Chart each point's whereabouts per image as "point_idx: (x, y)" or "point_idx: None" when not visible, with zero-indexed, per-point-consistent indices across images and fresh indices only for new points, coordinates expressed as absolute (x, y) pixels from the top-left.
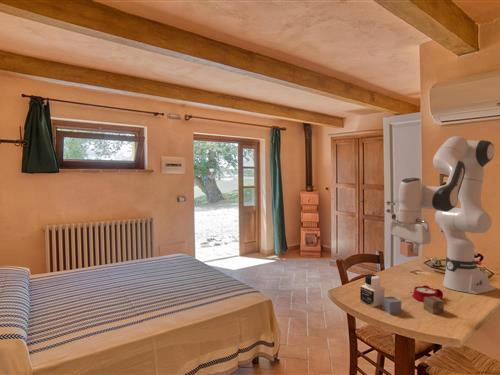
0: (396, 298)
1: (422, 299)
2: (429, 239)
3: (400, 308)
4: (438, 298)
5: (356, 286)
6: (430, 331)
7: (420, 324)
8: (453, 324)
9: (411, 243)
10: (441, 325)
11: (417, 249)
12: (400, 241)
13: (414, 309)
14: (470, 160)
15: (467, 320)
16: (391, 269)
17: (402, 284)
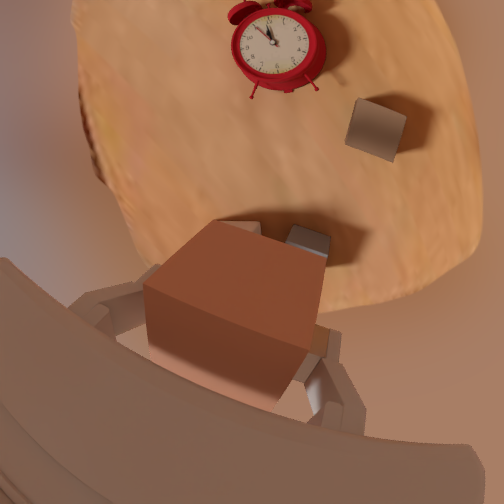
0: (303, 246)
1: (297, 84)
2: (472, 494)
3: (329, 245)
4: (380, 106)
5: (130, 185)
6: (430, 269)
7: (400, 255)
8: (452, 178)
9: (236, 369)
10: (436, 213)
11: (338, 353)
12: (119, 330)
13: (333, 173)
14: None
15: (458, 113)
16: (77, 6)
17: (157, 34)
